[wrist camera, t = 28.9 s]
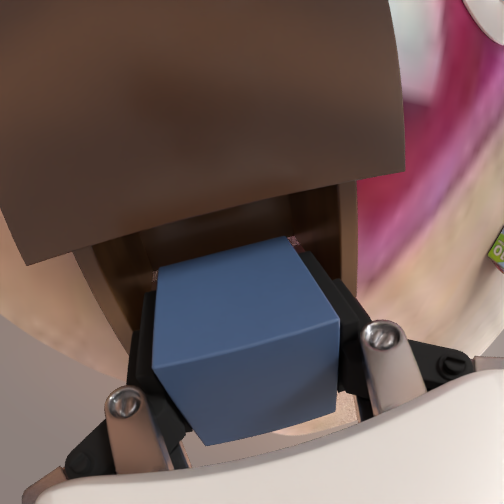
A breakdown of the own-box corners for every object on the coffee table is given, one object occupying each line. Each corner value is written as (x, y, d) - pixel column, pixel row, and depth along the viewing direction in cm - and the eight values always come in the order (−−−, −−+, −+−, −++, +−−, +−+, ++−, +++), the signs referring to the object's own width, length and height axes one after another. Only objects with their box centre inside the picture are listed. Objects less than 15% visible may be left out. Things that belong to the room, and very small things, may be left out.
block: (285, 234, 11) (341, 318, 7) (296, 327, 13) (336, 412, 9) (157, 266, 10) (150, 368, 6) (194, 353, 13) (205, 447, 9)
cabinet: (304, 130, 17) (405, 171, 9) (95, 181, 16) (26, 267, 8) (262, -78, 10) (322, -163, 2) (53, -31, 9) (-24, -88, 1)
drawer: (316, 309, 23) (361, 388, 16) (169, 347, 22) (173, 438, 15) (286, 42, 14) (360, 14, 7) (76, 92, 13) (-1, 99, 6)
